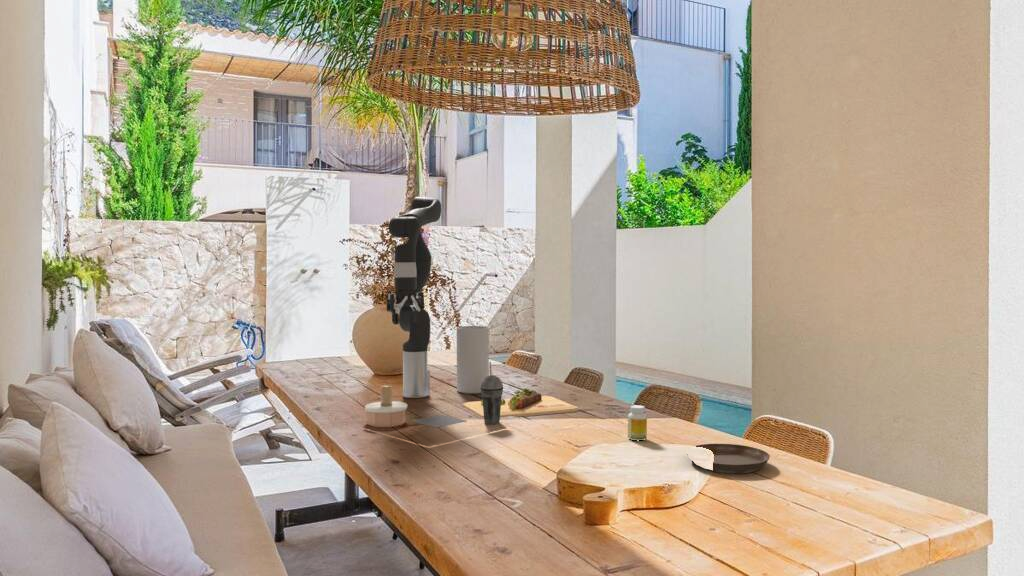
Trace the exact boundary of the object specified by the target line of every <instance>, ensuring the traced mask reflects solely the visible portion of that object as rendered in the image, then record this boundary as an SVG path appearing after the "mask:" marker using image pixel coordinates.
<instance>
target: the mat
mask: <svg viewBox="0 0 1024 576" xmlns="http://www.w3.org/2000/svg"><path fill="white" fill-rule="evenodd" d="M410 422H411V423H416V424H421V425H422V426H423V425H424V426H426V427H427V426H428V427H430V428H431V427H432V428H435V429H439V428H440V427H441V428H442V427H446V426H451V425H455V424H460V423H463V422H467V420H466V419H461V418H458V417H453V416H449V415H445V414H436V415H433V416H428V417H423V418H417V419H412V420H410Z"/></svg>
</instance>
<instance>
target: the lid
mask: <svg viewBox="0 0 1024 576" xmlns="http://www.w3.org/2000/svg"><path fill="white" fill-rule="evenodd" d="M407 409H408V403H406V402H403V401H397V400H396V401H394V400H393V386H392V385H387V384H386V385H380V401H374V402H370V403H367V404H365V408H364V410H365V411H366V412H367V411H369V412H374V413H392V412H400V411H403V410H405V411H406V410H407Z"/></svg>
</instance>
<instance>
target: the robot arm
mask: <svg viewBox="0 0 1024 576" xmlns="http://www.w3.org/2000/svg"><path fill="white" fill-rule="evenodd" d="M441 215H442V203H441V201H440V200H439V199H438V198H435V197H425V196H424V197H423V196H415V197H414V198H412V200H411V205H410V210H409V211H407V212H406V213H404V214H399V215H396V216H393V217H392V218H391V219H390V221H389V222H388V231H389V232H388V233H389V234H390V235H391V236H392V237H393V238H397V239H398V238H399V239H400V238H403V239H405V238H407V239H408V240H407V242H405V243H404V244H399V245H396V246H395V247H394V267H393V274H394V275H393V276H394V277H393V278H394V279H393V283H394V286H393V287H394V291H395V293H387V294H386V311H387V312H389V313H391V322H392V324H393V325H399V327H400V328H401V330H402V331H404V332H408V333H409V336H408V340H407V341H405V342H403V344H402V397H404V398H410V399H417V398H418V399H419V398H426V397H428V396H431V395H430V393H431V391H430V390H431V383H430V381H431V379H430V378H431V376H430V374H431V373H430V370H429V369H428V364H429V363H428V358H429V357H428V348H429V347H428V346H429V344H430V338H431V337H430V336H431V317H430V314H429V313H428V311H427V310H426V309H425V296H424V295H425V294H424V292H423V289H424V287H425V286H426V284H427V282H428V280H429V277H430V275H431V270H432V269H431V267H432V254H431V251H430V249H429V247H428V245H427V244H426V242H425V239H424V237H423V235H422V231H421V228H422V227H424V226H426V225H428V224H432V223H435V222H438V221H439V220H440V218H441Z"/></svg>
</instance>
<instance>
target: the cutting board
mask: <svg viewBox="0 0 1024 576" xmlns="http://www.w3.org/2000/svg"><path fill="white" fill-rule="evenodd" d="M513 394H515V395H513V396H511V397H510V398H504V399H502V398H501V410H500V418H502V417H514V418H515V417H516V418H520V417H531V416H532V417H533V416H542V415H543V416H544V415H553V414H554V415H555V414H564V413H565V414H566V413H575V412H578V411H579V407H578V406H575V405H573V404H570V403H568V402H566V401H564V400H561V399H559V398H557V397H554V396H550V395H542V394H541V393H538V392H537V391H536V390H534V389H532V390H530V388H528V387H524V388H523V390H522V391H520V390H515V391H513ZM462 407H464V408H466V409H467V410H469V411H471V412H473V413H474V414H476V415H477V416H479V417H481V418H484V412H483V400H478V401H477V400H476V401H467V402H464V403H462Z"/></svg>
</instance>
